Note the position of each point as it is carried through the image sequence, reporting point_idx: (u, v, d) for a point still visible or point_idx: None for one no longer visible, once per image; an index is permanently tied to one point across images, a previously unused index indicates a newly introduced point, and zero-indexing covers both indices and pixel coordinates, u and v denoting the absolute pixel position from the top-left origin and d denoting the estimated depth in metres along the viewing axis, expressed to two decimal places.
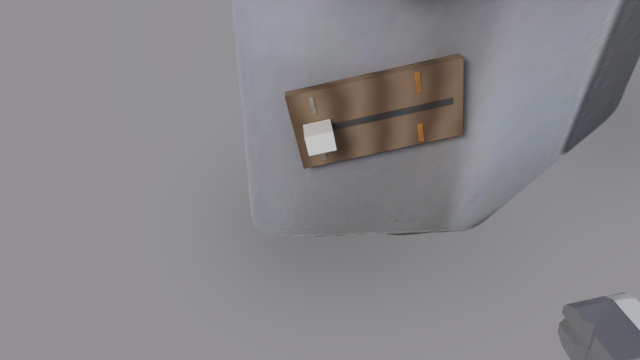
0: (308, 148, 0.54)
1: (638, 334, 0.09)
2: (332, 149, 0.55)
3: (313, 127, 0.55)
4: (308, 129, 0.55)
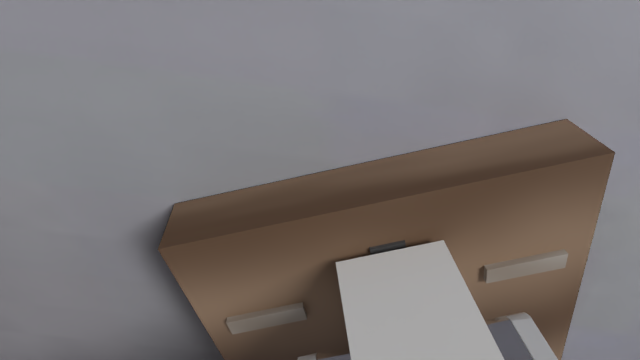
0: None
1: (526, 356, 0.09)
2: None
3: None
4: None
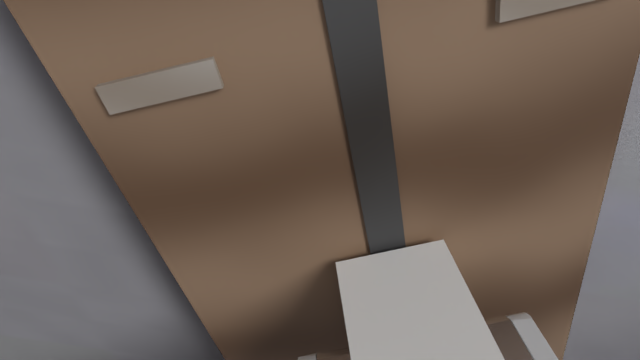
0: None
1: (526, 356, 0.09)
2: None
3: None
4: None
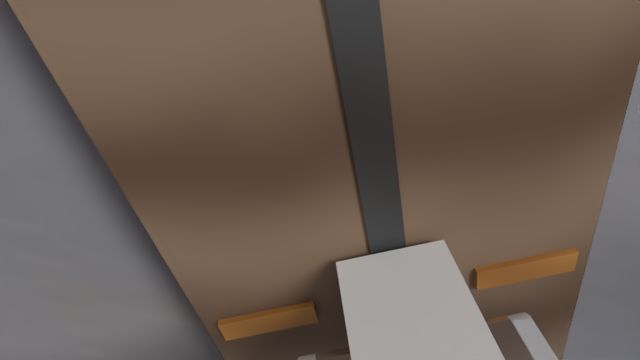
0: None
1: (526, 356, 0.09)
2: None
3: None
4: None
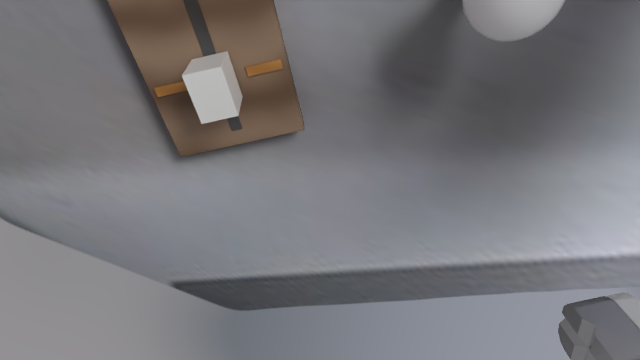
0: (198, 74, 0.29)
1: (638, 334, 0.09)
2: (202, 116, 0.31)
3: (231, 74, 0.31)
4: (227, 67, 0.31)
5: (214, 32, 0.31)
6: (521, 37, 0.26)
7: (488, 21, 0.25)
